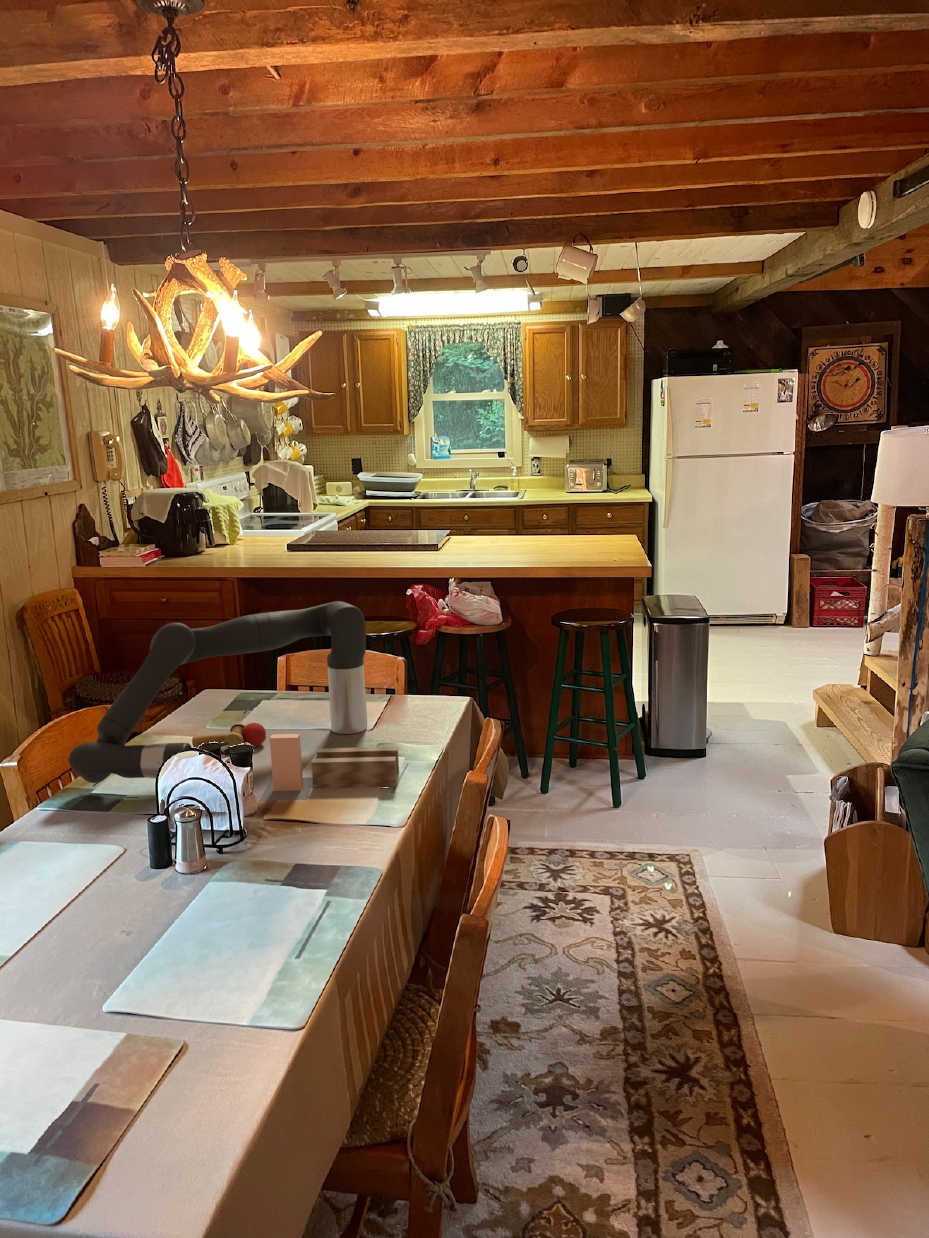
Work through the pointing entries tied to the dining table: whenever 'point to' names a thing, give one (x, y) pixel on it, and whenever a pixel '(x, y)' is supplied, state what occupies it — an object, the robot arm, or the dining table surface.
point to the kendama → (236, 735)
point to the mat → (288, 792)
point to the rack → (355, 767)
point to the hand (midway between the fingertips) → (242, 758)
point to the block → (286, 762)
